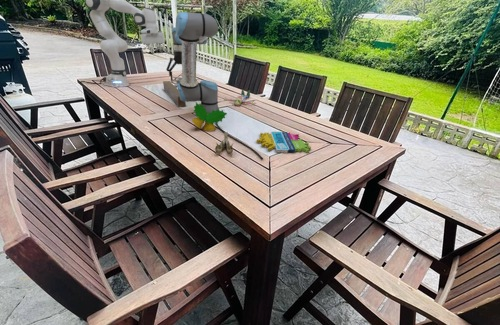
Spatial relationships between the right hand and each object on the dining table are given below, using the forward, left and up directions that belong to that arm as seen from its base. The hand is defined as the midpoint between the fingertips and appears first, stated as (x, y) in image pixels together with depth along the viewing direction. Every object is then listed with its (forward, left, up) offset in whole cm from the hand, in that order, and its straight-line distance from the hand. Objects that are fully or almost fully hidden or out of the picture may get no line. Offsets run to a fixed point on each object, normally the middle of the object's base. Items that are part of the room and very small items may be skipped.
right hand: (180, 80), depth 203 cm
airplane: (+64, -5, -17) cm, 66 cm away
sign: (-87, -52, -17) cm, 103 cm away
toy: (-4, -49, -17) cm, 51 cm away
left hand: (+35, +19, +18) cm, 44 cm away
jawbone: (-93, -17, -17) cm, 96 cm away
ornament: (-61, -14, -17) cm, 64 cm away
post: (+11, +6, -17) cm, 21 cm away
